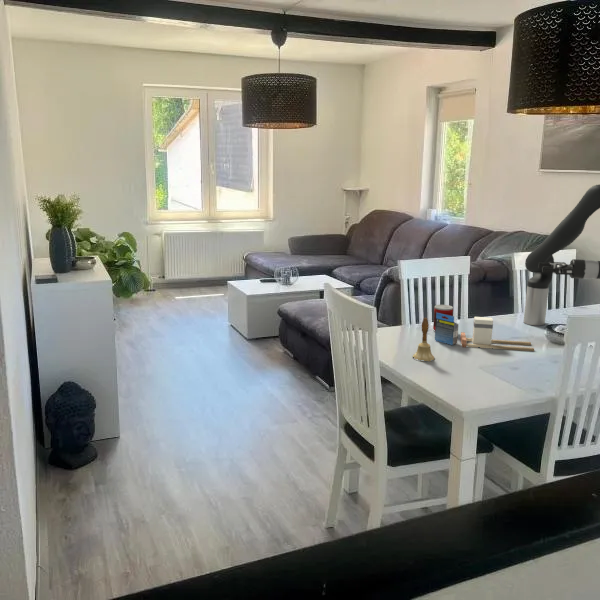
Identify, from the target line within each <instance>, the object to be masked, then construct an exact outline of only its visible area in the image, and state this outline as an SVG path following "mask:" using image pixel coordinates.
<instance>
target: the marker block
mask: <svg viewBox="0 0 600 600" xmlns="http://www.w3.org/2000/svg"><path fill="white" fill-rule="evenodd" d="M493 326H494V319H493V317H487V316H486V317H485V316H474V318H473V327H472V329H473V330H472V337H471V338H472V342H471V344H472V343H473V344H485V345H492V343H491V340H493V338H492V336H493V328H494V327H493Z"/></svg>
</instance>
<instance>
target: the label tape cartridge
mask: <svg viewBox="0 0 600 600" xmlns="http://www.w3.org/2000/svg"><path fill="white" fill-rule="evenodd" d="M442 316H443V317H444V316H445V317H447V318H448V319H445V318H442ZM458 334H459V323H457V322H455V316H454V315H453V316H450V315H446V314H441V313H437V312H436V327H435V331H434V341H435V340H436V341H435V342H438V341H439V343H443V344H446V343H447V345H451V346H454V345H457V344H458ZM456 343H457V344H456Z"/></svg>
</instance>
